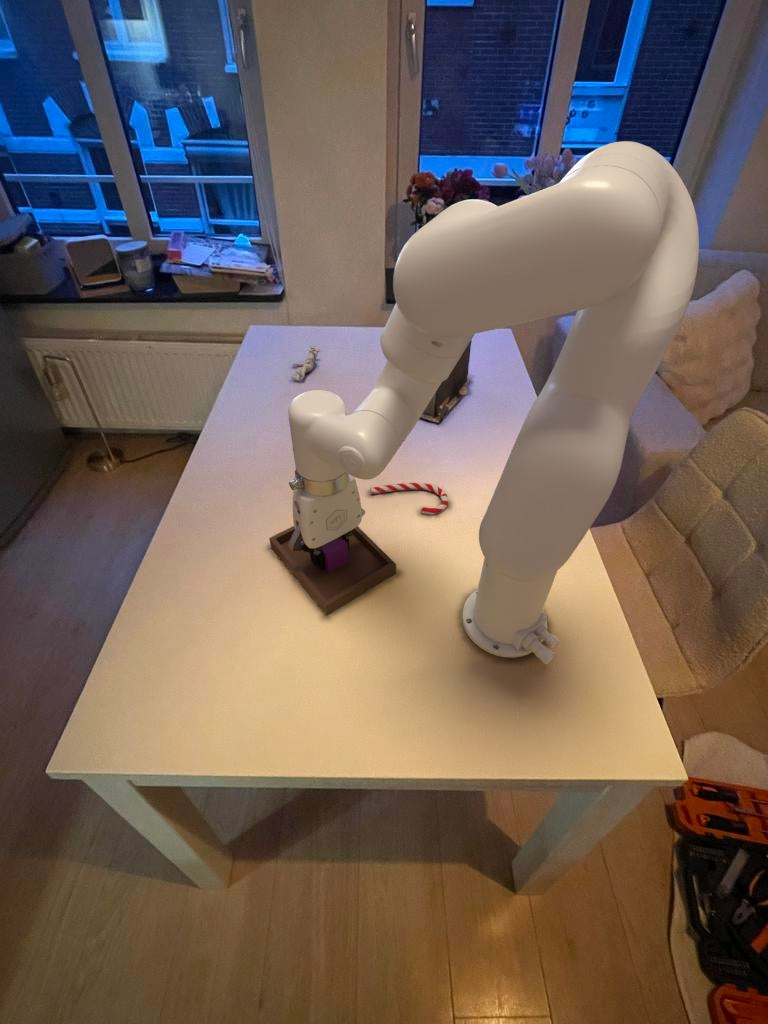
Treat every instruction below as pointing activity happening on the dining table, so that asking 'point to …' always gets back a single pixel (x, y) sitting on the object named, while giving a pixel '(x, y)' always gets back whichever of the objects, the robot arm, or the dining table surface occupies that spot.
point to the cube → (335, 553)
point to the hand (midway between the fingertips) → (330, 557)
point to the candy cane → (420, 487)
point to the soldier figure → (306, 363)
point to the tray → (337, 570)
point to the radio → (449, 390)
